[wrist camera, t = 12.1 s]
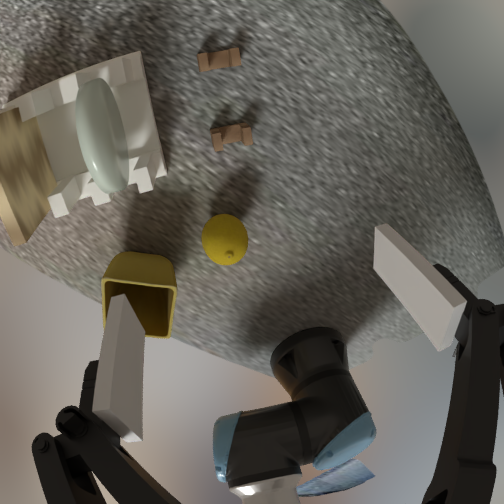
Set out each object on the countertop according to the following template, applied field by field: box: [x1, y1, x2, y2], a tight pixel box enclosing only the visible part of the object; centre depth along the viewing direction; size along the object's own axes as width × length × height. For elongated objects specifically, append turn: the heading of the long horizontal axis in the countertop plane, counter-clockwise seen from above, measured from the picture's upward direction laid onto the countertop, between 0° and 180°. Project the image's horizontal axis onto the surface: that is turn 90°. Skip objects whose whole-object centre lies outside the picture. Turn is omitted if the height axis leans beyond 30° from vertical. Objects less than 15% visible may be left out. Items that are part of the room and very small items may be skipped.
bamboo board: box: [0, 107, 58, 247], centre depth 25 cm, size 12×2×11 cm, turn 8°
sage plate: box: [75, 78, 129, 194], centre depth 26 cm, size 11×1×11 cm, turn 8°
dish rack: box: [0, 51, 167, 218], centre depth 29 cm, size 15×18×7 cm
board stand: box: [197, 48, 253, 152], centre depth 32 cm, size 11×4×3 cm, turn 8°
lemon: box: [201, 214, 248, 265], centre depth 39 cm, size 6×6×8 cm
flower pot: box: [101, 251, 177, 338], centre depth 39 cm, size 9×9×9 cm
